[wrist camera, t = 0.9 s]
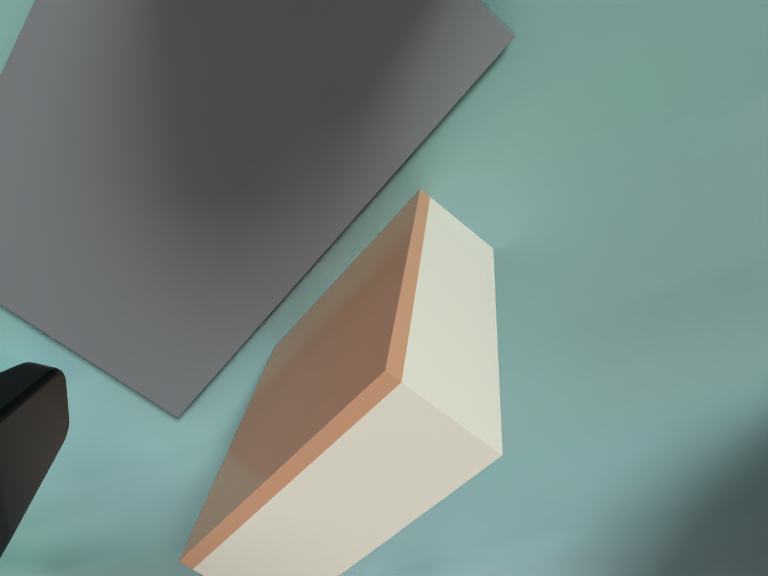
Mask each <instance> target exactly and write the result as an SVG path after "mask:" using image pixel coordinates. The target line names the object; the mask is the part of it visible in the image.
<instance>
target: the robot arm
mask: <svg viewBox="0 0 768 576" xmlns="http://www.w3.org/2000/svg"><path fill="white" fill-rule="evenodd" d="M68 427H69V412H68V400H67V388H66V379H65V375H64V374H63V372H62V371H61V370H59V369H57V368H54V367H49V366H45V365H41V364H37V363H32V362H26V363H22V364H19V365H17V366H14V367H12V368H10V369H7V370H5V371H3V372H0V557H1V556H2V554H3V552H4V551H5V549H6V547H7V545H8V544H9V542H10V540H11V538H12V536H13V535H14V533H15V531H16V529H17V527H18V525H19V524H20V522H21V520H22V518H23V516H24V514H25V513H26V511H27V509H28V507H29V505H30V503H31V501H32V500H33V498H34V496H35V494H36V492H37V490H38V489H39V487H40V485H41V483H42V481H43V479H44V478H45V476H46V474H47V472H48V470H49V468H50V466H51V465H52V463H53V461H54V459H55V457H56V455H57V454H58V452H59V450H60V448H61V446H62V444H63V442H64V440H65V438H66V435H67V432H68Z"/></svg>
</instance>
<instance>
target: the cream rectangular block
mask: <svg viewBox="0 0 768 576" xmlns="http://www.w3.org/2000/svg"><path fill="white" fill-rule="evenodd" d="M501 456H502V436H501V413H500V391H499V368H498V346H497V323H496V301H495V278H494V256H493V248H491V247H490V246H489V245H488V244H487V243H485V242H484V241H483V240H482V239H480V238H479V237H478V236H477V235H476V234H474V233H473V232H472V231H471V230H469V229H468V228H467V227H466V226H465V225H463V224H462V223H461V222H460V221H458V220H457V219H456V218H455V217H454V216H452V215H451V214H450V213H449V212H447V211H446V210H445V209H444V208H443V207H441V206H440V205H439V204H438V203H437V202H435V201H434V200H433V199H432V198H430V197H429V196H428V195H427V194H426V193H424V192H423V191H422V190H421V189H420V190H419V191H418V192H417V193H416V194H415V195H414V196H413V198H412V199H411V200H410V201H409V202H408V203H407V204H406V205H405V206H404V207H403V208H402V209H401V210H400V212H399V213H398V214H397V215H396V216H395V217H394V218H393V219H392V220H391V221H390V222H389V223H388V225H387V226H386V227H385V228H384V229H383V230H382V231H381V232H380V233H379V234H378V235H377V236H376V238H375V239H374V240H373V241H372V242H371V243H370V244H369V245H368V246H367V247H366V248H365V249H364V251H363V252H362V253H361V254H360V255H359V256H358V257H357V258H356V259H355V260H354V261H353V262H352V264H351V265H350V266H349V267H348V268H347V269H346V270H345V271H344V272H343V273H342V274H341V275H340V277H339V278H338V279H337V280H336V281H335V282H334V283H333V284H332V285H331V286H330V287H329V288H328V290H327V291H326V292H325V293H324V294H323V295H322V296H321V297H320V298H319V299H318V300H317V301H316V303H315V304H314V305H313V306H312V307H311V308H310V309H309V310H308V311H307V312H306V313H305V314H304V316H303V317H302V318H301V319H300V320H299V321H298V322H297V323H296V324H295V325H294V326H293V327H292V329H291V330H290V331H289V332H288V333H287V334H286V335H285V336H284V337H283V338H282V339H281V340H280V342H279V343H278V344H277V345H276V346H275V347H274V350H273V352H272V354H271V356H270V359H269V361H268V363H267V365H266V368H265V370H264V372H263V374H262V377H261V379H260V381H259V383H258V385H257V388H256V390H255V392H254V394H253V397H252V399H251V401H250V403H249V406H248V408H247V410H246V412H245V415H244V417H243V419H242V421H241V423H240V426H239V428H238V430H237V432H236V435H235V437H234V439H233V441H232V444H231V446H230V448H229V450H228V453H227V455H226V457H225V459H224V461H223V464H222V466H221V468H220V470H219V473H218V475H217V477H216V479H215V482H214V484H213V486H212V488H211V491H210V493H209V495H208V497H207V499H206V502H205V504H204V506H203V508H202V511H201V513H200V515H199V517H198V520H197V522H196V524H195V526H194V529H193V531H192V533H191V535H190V537H189V540H188V542H187V544H186V546H185V549H184V551H183V553H182V555H181V558H180V560H179V562H181V563H183V564H184V565H186V566H188V567H190V568H191V569H193V570H195V571H196V572H198V573H200V574H202V575H203V576H339V575H341V574H342V573H343V572H345V571H346V570H347V569H349V568H350V567H351V566H353V565H354V564H355V563H357V562H358V561H360V560H361V559H362V558H364V557H365V556H366V555H368V554H369V553H370V552H372V551H373V550H374V549H376V548H377V547H379V546H380V545H381V544H383V543H384V542H385V541H387V540H388V539H389V538H391V537H392V536H393V535H395V534H396V533H398V532H399V531H400V530H402V529H403V528H404V527H406V526H407V525H408V524H410V523H411V522H412V521H414V520H415V519H416V518H418V517H419V516H421V515H422V514H423V513H425V512H426V511H427V510H429V509H430V508H431V507H433V506H434V505H435V504H437V503H438V502H440V501H441V500H442V499H444V498H445V497H446V496H448V495H449V494H450V493H452V492H453V491H454V490H456V489H457V488H459V487H460V486H461V485H463V484H464V483H465V482H467V481H468V480H469V479H471V478H472V477H473V476H475V475H476V474H478V473H479V472H480V471H482V470H483V469H484V468H486V467H487V466H488V465H490V464H491V463H492V462H494V461H495V460H497V459H498V458H499V457H501Z"/></svg>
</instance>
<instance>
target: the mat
mask: <svg viewBox="0 0 768 576" xmlns="http://www.w3.org/2000/svg"><path fill="white" fill-rule="evenodd" d="M514 37H515V35H514V33H513V32H512V31H511V30H510V29H509V28H508V27H507V26H506V25H505V24H504V23H503V22H502V21H501V20H499V19H498V18H497V17H496V16H495V15H494V14H493V13H492V12H491V11H490V10H489V9H488V8H487V7H486V6H484V5H483V4H482V3H481V2H480V1H479V0H35V2H34V4H33V6H32V8H31V11H30V13H29V15H28V17H27V19H26V21H25V23H24V26H23V28H22V30H21V32H20V34H19V36H18V39H17V41H16V43H15V45H14V47H13V49H12V52H11V54H10V56H9V58H8V60H7V62H6V65H5V67H4V69H3V71H2V73H1V75H0V304H1V305H2V306H4V307H5V308H7V309H8V310H10V311H12V312H13V313H15V314H16V315H18V316H19V317H21V318H22V319H24V320H26V321H27V322H29V323H30V324H32V325H33V326H35V327H37V328H38V329H40V330H41V331H43V332H44V333H46V334H47V335H49V336H51V337H52V338H54V339H55V340H57V341H58V342H60V343H62V344H63V345H65V346H66V347H68V348H69V349H71V350H72V351H74V352H76V353H77V354H79V355H80V356H82V357H83V358H85V359H87V360H88V361H90V362H91V363H93V364H94V365H96V366H97V367H99V368H101V369H102V370H104V371H105V372H107V373H108V374H110V375H112V376H113V377H115V378H116V379H118V380H119V381H121V382H122V383H124V384H126V385H127V386H129V387H130V388H132V389H133V390H135V391H136V392H138V393H140V394H141V395H143V396H144V397H146V398H147V399H149V400H151V401H152V402H154V403H155V404H157V405H158V406H160V407H161V408H163V409H165V410H166V411H168V412H169V413H171V414H172V415H174V416H176V417H177V418H178V417H179V416H180V415H181V414H182V413H183V411H184V410H185V409H186V408H187V407H188V406H189V405H190V404H191V402H192V401H193V400H194V399H195V398H196V397H197V396H198V395H199V393H200V392H201V391H202V390H203V389H204V388H205V387H206V385H207V384H208V383H209V382H210V381H211V380H212V379H213V378H214V376H215V375H216V374H217V373H218V372H219V371H220V370H221V369H222V367H223V366H224V365H225V364H226V363H227V362H228V361H229V359H230V358H231V357H232V356H233V355H234V354H235V353H236V352H237V350H238V349H239V348H240V347H241V346H242V345H243V344H244V342H245V341H246V340H247V339H248V338H249V337H250V336H251V335H252V333H253V332H254V331H255V330H256V329H257V328H258V327H259V326H260V324H261V323H262V322H263V321H264V320H265V319H266V318H267V316H268V315H269V314H270V313H271V312H272V311H273V310H274V309H275V307H276V306H277V305H278V304H279V303H280V302H281V301H282V300H283V298H284V297H285V296H286V295H287V294H288V293H289V292H290V290H291V289H292V288H293V287H294V286H295V285H296V284H297V283H298V281H299V280H300V279H301V278H302V277H303V276H304V275H305V274H306V272H307V271H308V270H309V269H310V268H311V267H312V266H313V264H314V263H315V262H316V261H317V260H318V259H319V258H320V257H321V255H322V254H323V253H324V252H325V251H326V250H327V249H328V248H329V246H330V245H331V244H332V243H333V242H334V241H335V240H336V238H337V237H338V236H339V235H340V234H341V233H342V232H343V231H344V229H345V228H346V227H347V226H348V225H349V224H350V223H351V222H352V220H353V219H354V218H355V217H356V216H357V215H358V214H359V212H360V211H361V210H362V209H363V208H364V207H365V206H366V205H367V203H368V202H369V201H370V200H371V199H372V198H373V197H374V196H375V194H376V193H377V192H378V191H379V190H380V189H381V188H382V186H383V185H384V184H385V183H386V182H387V181H388V180H389V179H390V177H391V176H392V175H393V174H394V173H395V172H396V171H397V169H398V168H399V167H400V166H401V165H402V164H403V163H404V162H405V160H406V159H407V158H408V157H409V156H410V155H411V154H412V153H413V151H414V150H415V149H416V148H417V147H418V146H419V145H420V143H421V142H422V141H423V140H424V139H425V138H426V137H427V136H428V134H429V133H430V132H431V131H432V130H433V129H434V128H435V127H436V125H437V124H438V123H439V122H440V121H441V120H442V119H443V117H444V116H445V115H446V114H447V113H448V112H449V111H450V110H451V108H452V107H453V106H454V105H455V104H456V103H457V102H458V101H459V99H460V98H461V97H462V96H463V95H464V94H465V93H466V91H467V90H468V89H469V88H470V87H471V86H472V85H473V84H474V82H475V81H476V80H477V79H478V78H479V77H480V76H481V75H482V73H483V72H484V71H485V70H486V69H487V68H488V67H489V65H490V64H491V63H492V62H493V61H494V60H495V59H496V58H497V56H498V55H499V54H500V53H501V52H502V51H503V50H504V49H505V47H506V46H507V45H508V44H509V43H510V42H511V41H512V39H513V38H514Z"/></svg>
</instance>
